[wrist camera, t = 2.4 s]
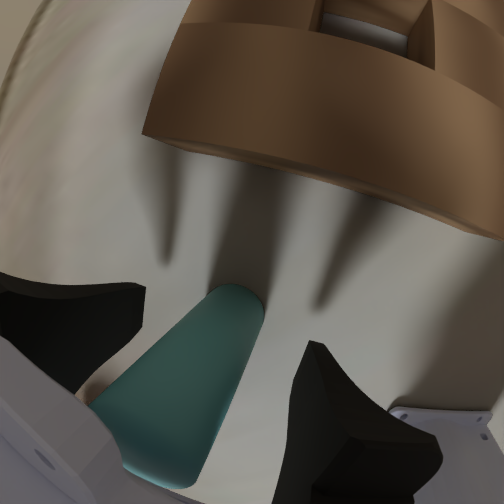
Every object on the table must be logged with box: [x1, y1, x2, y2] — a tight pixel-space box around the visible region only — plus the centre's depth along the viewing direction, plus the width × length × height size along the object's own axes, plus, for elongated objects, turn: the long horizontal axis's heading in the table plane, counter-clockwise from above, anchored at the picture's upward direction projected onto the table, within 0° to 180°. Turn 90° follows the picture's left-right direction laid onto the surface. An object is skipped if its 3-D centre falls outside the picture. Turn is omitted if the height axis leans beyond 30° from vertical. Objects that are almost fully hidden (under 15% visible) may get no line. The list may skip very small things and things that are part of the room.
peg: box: [88, 284, 264, 489], centre depth 9 cm, size 3×3×9 cm
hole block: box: [142, 0, 504, 241], centre depth 8 cm, size 14×14×4 cm
